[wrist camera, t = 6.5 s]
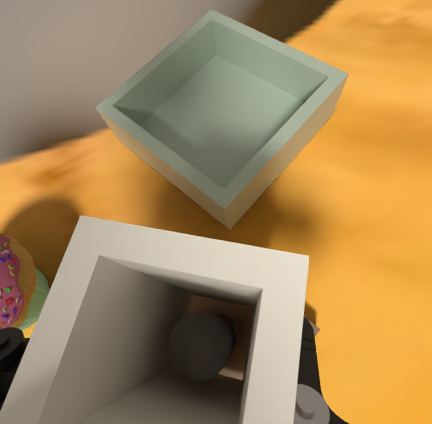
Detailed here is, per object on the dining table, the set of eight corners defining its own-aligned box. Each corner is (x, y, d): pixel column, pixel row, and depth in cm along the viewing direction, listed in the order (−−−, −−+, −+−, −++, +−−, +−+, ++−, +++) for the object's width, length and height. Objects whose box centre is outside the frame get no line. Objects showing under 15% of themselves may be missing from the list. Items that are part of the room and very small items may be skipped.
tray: (120, 141, 26) (95, 107, 22) (216, 53, 29) (211, 9, 25) (229, 230, 22) (224, 209, 17) (331, 116, 24) (348, 74, 20)
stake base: (133, 338, 19) (42, 352, 11) (217, 244, 21) (194, 194, 13) (228, 448, 16) (204, 585, 8) (316, 328, 18) (373, 336, 10)
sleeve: (159, 375, 16) (-35, 496, 5) (183, 278, 18) (80, 215, 7) (255, 402, 15) (273, 627, 4) (270, 296, 17) (309, 255, 6)
